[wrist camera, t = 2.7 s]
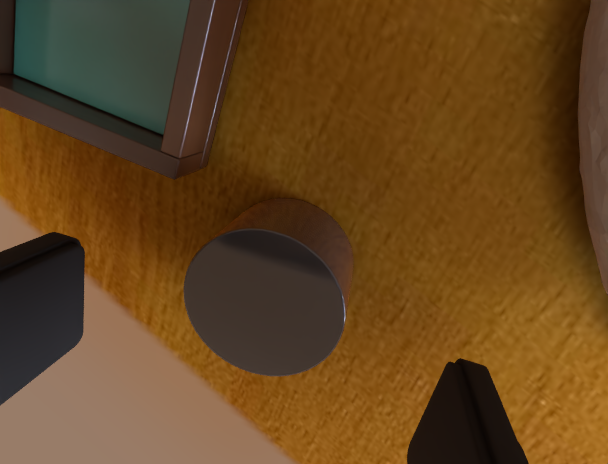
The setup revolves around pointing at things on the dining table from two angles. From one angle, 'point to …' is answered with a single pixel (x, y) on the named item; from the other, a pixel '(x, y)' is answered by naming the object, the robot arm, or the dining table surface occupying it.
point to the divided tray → (123, 73)
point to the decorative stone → (595, 130)
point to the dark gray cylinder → (272, 288)
